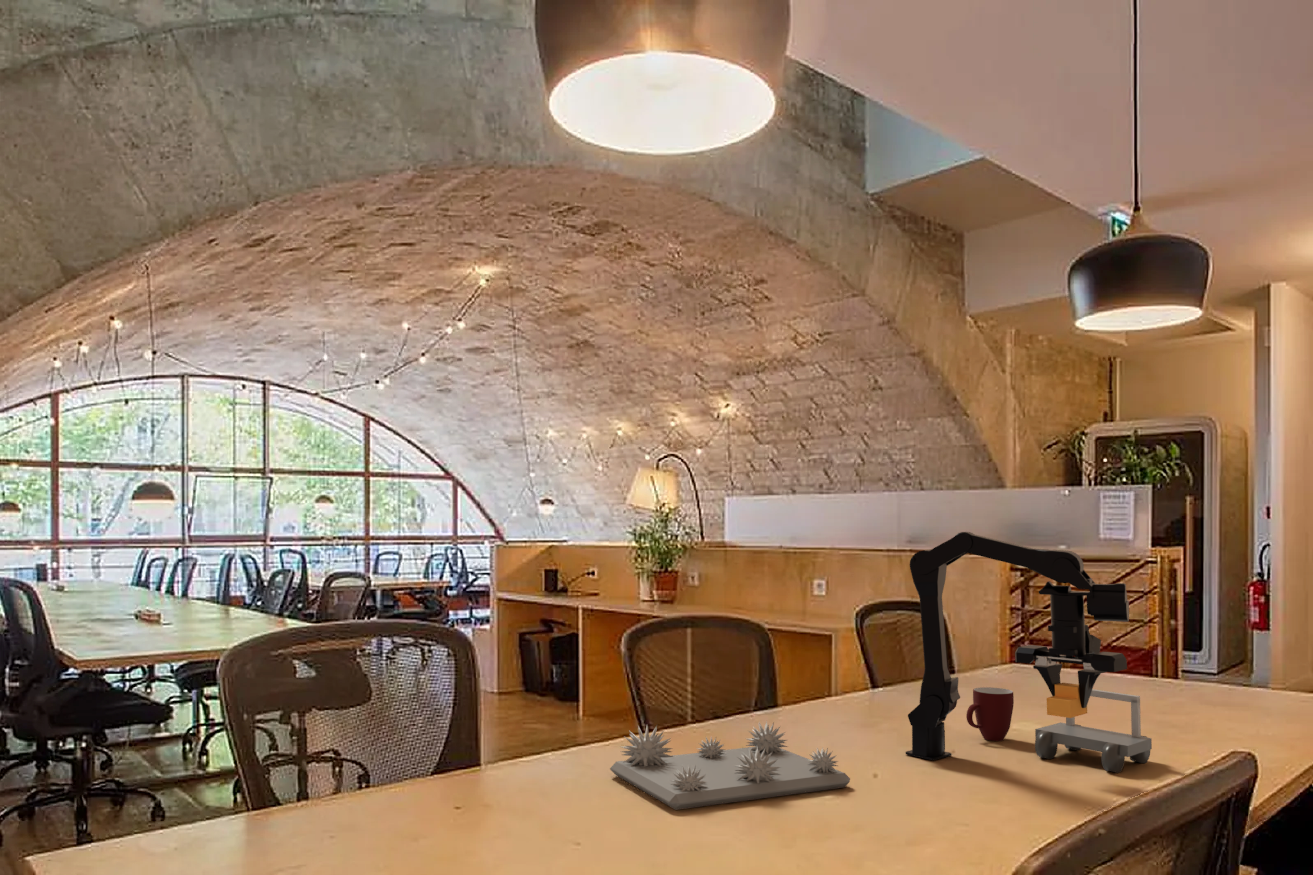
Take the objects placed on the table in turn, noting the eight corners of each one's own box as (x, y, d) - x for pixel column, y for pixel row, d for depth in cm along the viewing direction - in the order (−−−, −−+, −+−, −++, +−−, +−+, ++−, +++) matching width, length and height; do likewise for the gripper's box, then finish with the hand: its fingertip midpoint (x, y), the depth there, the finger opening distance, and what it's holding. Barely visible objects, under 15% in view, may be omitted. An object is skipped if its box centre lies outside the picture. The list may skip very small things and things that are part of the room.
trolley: (1120, 776, 185) (1119, 705, 186) (1027, 757, 198) (1026, 691, 199) (1158, 762, 195) (1157, 695, 196) (1068, 745, 209) (1067, 682, 210)
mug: (985, 746, 207) (985, 696, 208) (956, 738, 214) (956, 689, 215) (1022, 741, 212) (1021, 692, 213) (992, 733, 219) (992, 686, 220)
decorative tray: (672, 817, 159) (673, 752, 160) (605, 777, 182) (606, 720, 183) (854, 791, 175) (854, 732, 176) (771, 757, 198) (771, 705, 199)
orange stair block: (1070, 718, 182) (1069, 689, 183) (1047, 714, 186) (1046, 686, 186) (1087, 713, 187) (1086, 685, 187) (1064, 710, 190) (1063, 682, 190)
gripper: (1138, 619, 187) (1142, 707, 186) (1041, 613, 201) (1044, 694, 200) (1110, 624, 180) (1114, 715, 178) (1012, 617, 193) (1015, 701, 192)
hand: (1071, 706), depth 187 cm, fingers closed on orange stair block, 4 cm apart
